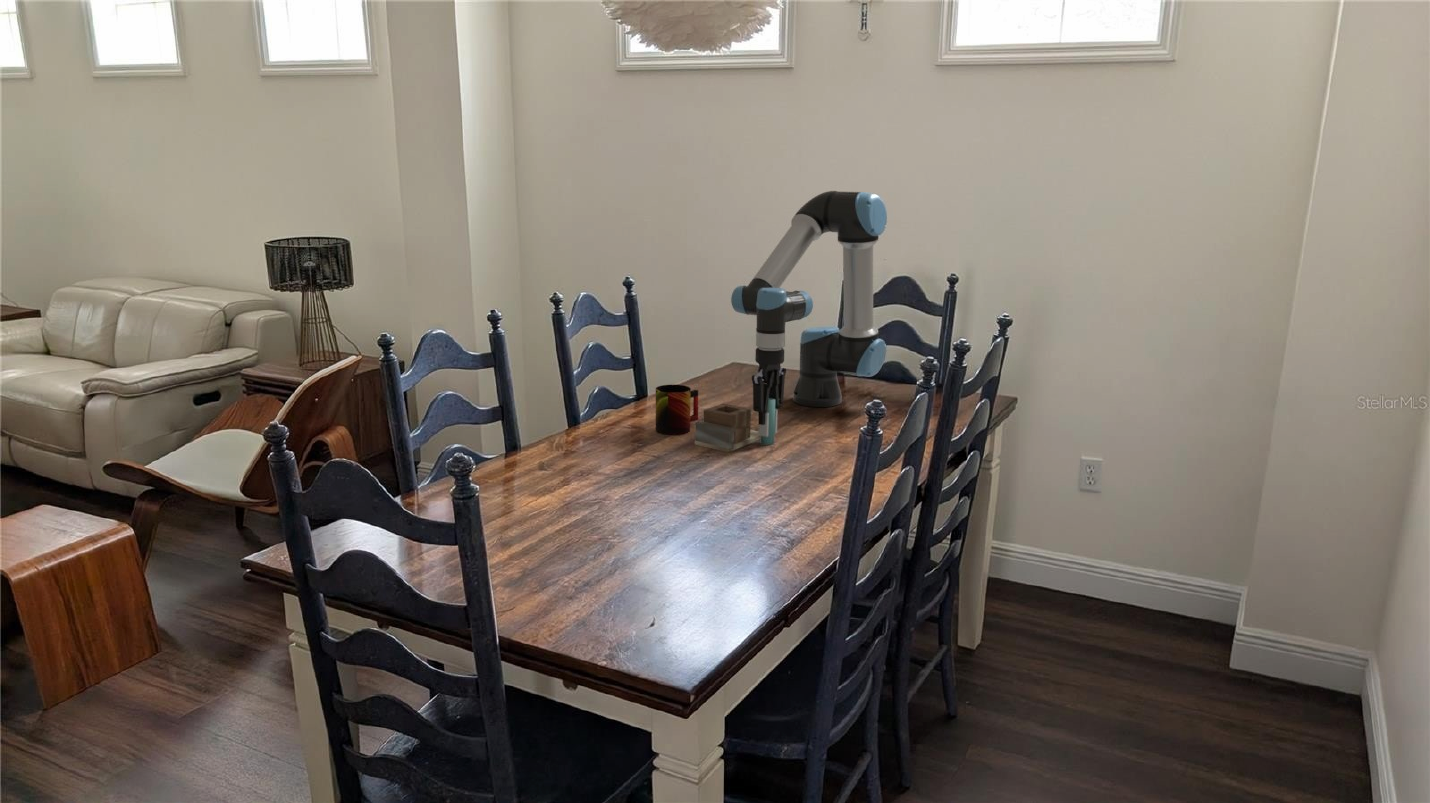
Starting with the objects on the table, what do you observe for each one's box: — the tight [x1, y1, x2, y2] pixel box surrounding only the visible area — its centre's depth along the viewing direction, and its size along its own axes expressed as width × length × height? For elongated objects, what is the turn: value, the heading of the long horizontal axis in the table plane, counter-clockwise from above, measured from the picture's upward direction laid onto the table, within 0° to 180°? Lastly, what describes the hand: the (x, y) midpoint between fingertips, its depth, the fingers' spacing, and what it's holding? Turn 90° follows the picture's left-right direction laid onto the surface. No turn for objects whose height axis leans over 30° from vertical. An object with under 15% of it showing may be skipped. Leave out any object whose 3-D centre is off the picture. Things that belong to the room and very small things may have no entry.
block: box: [703, 403, 752, 444], centre depth 267 cm, size 9×9×8 cm
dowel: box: [760, 398, 775, 446], centre depth 266 cm, size 4×4×12 cm
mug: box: [655, 384, 699, 436], centre depth 278 cm, size 10×14×12 cm
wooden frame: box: [694, 420, 761, 453], centre depth 269 cm, size 18×11×6 cm, turn 144°
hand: (767, 433), depth 267 cm, fingers closed on dowel, 3 cm apart
